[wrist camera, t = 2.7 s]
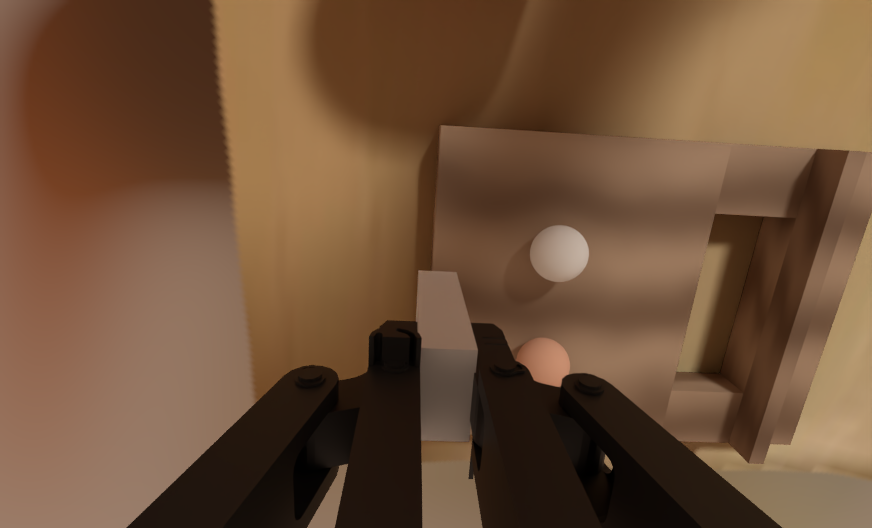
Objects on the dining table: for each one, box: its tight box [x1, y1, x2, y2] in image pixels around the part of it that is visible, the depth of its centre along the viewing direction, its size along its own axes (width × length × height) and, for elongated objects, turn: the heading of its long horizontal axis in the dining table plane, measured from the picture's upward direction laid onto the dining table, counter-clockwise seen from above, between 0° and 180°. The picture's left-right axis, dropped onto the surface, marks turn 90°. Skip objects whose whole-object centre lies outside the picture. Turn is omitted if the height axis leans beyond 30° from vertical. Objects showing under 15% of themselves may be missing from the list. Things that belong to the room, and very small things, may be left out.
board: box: [431, 125, 872, 464], centre depth 28 cm, size 20×26×4 cm
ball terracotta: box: [516, 338, 570, 387], centre depth 27 cm, size 3×3×3 cm
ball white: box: [530, 225, 589, 282], centre depth 25 cm, size 3×3×3 cm
